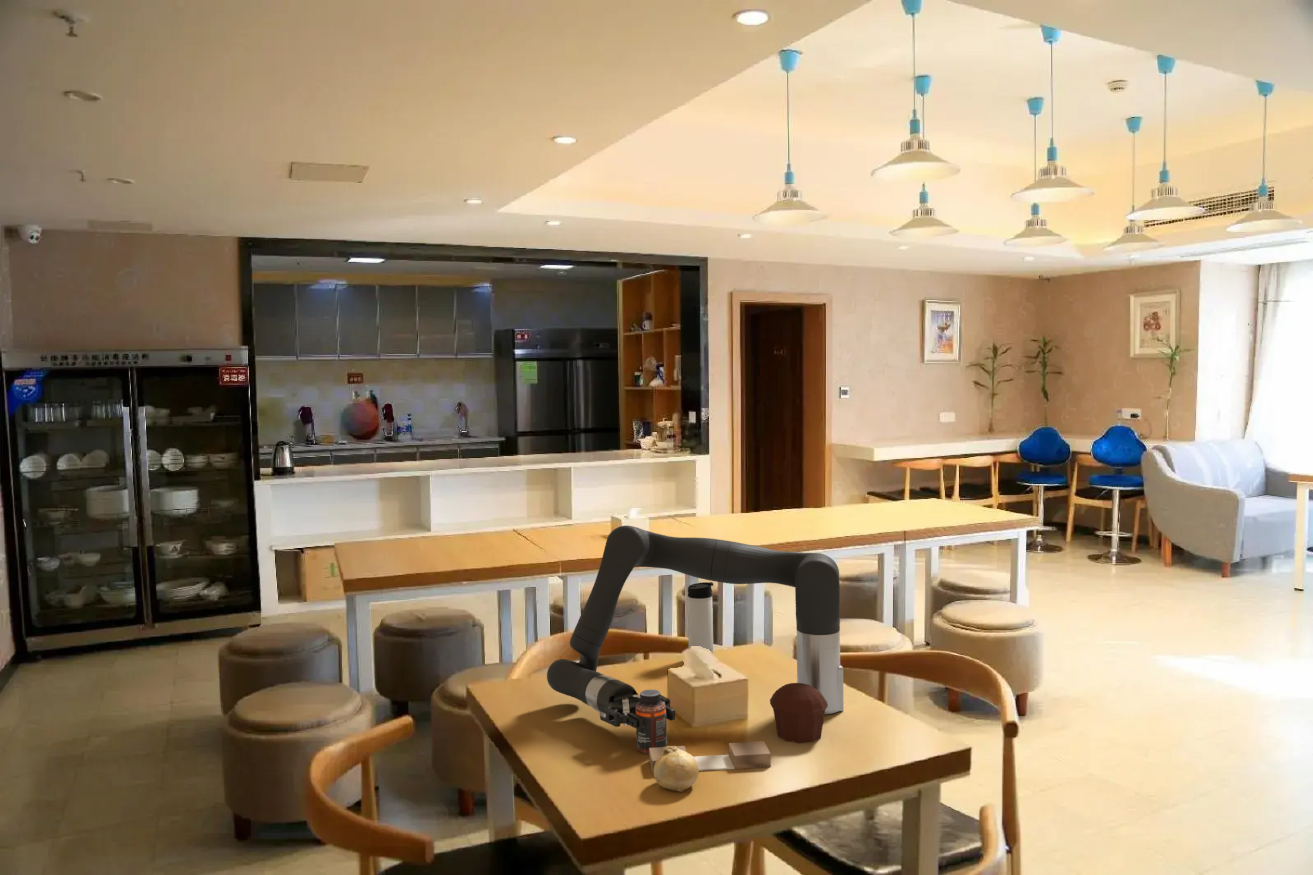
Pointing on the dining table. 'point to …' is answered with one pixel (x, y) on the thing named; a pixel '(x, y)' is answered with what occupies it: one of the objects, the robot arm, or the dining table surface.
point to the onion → (676, 769)
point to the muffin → (798, 712)
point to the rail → (726, 757)
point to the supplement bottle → (651, 721)
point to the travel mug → (700, 615)
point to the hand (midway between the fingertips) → (657, 719)
